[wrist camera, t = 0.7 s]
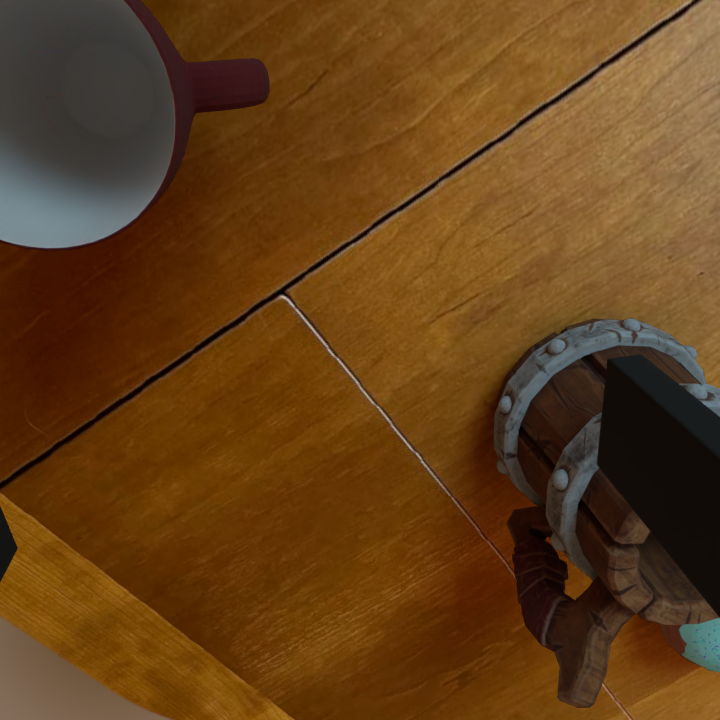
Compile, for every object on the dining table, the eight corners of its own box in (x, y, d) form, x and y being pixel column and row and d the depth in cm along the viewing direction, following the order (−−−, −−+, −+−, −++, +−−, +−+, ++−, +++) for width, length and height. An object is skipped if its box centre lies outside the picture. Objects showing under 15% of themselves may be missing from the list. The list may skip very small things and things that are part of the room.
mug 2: (741, 365, 36) (956, 595, 23) (557, 511, 42) (648, 755, 29) (600, 253, 32) (768, 458, 19) (420, 433, 38) (458, 676, 25)
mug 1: (235, -60, 25) (215, -128, 16) (288, 153, 28) (297, 197, 19) (-34, 3, 24) (-212, -29, 15) (55, 209, 28) (-47, 281, 19)
